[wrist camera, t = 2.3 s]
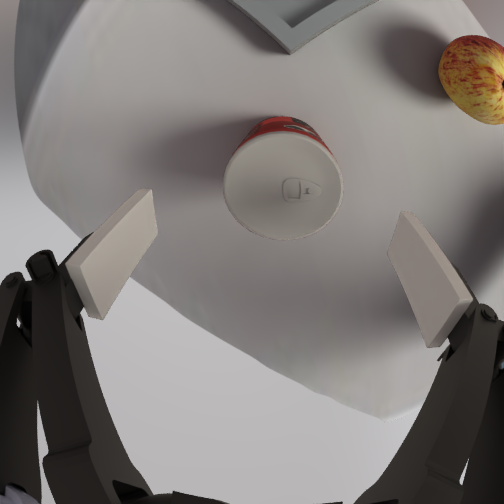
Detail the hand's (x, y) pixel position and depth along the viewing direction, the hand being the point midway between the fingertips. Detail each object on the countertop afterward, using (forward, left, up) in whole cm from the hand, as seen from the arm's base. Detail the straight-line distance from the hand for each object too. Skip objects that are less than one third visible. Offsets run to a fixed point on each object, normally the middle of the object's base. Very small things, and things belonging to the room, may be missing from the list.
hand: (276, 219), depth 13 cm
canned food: (0, 0, -15) cm, 15 cm away
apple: (-4, -22, -15) cm, 27 cm away
